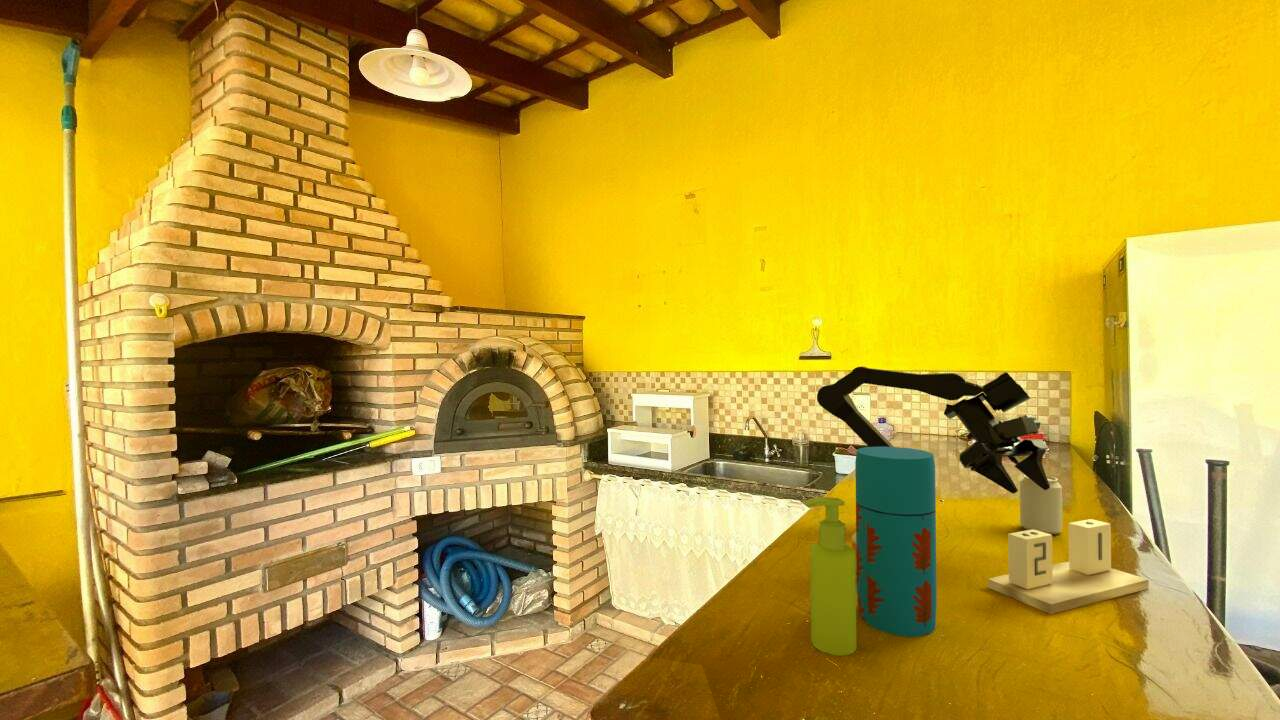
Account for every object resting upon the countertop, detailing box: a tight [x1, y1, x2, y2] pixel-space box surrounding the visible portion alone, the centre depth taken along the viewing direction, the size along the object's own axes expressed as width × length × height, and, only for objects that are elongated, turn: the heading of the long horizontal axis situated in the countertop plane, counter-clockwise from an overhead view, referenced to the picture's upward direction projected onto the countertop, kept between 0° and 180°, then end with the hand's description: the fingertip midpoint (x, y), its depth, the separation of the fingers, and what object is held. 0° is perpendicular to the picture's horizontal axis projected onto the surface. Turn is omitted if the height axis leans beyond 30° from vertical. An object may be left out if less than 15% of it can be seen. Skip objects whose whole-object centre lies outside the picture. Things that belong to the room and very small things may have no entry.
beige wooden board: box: [987, 560, 1150, 615], centre depth 89 cm, size 10×24×2 cm, turn 110°
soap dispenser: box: [801, 496, 857, 656], centre depth 73 cm, size 6×7×20 cm
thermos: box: [854, 446, 938, 638], centre depth 80 cm, size 11×11×25 cm
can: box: [1019, 474, 1063, 535], centre depth 118 cm, size 8×8×12 cm
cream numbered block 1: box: [1068, 518, 1112, 575], centre depth 93 cm, size 3×6×8 cm, turn 110°
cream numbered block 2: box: [1007, 529, 1053, 589], centre depth 88 cm, size 3×6×8 cm, turn 110°
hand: (1031, 490), depth 102 cm, fingers open, 9 cm apart
